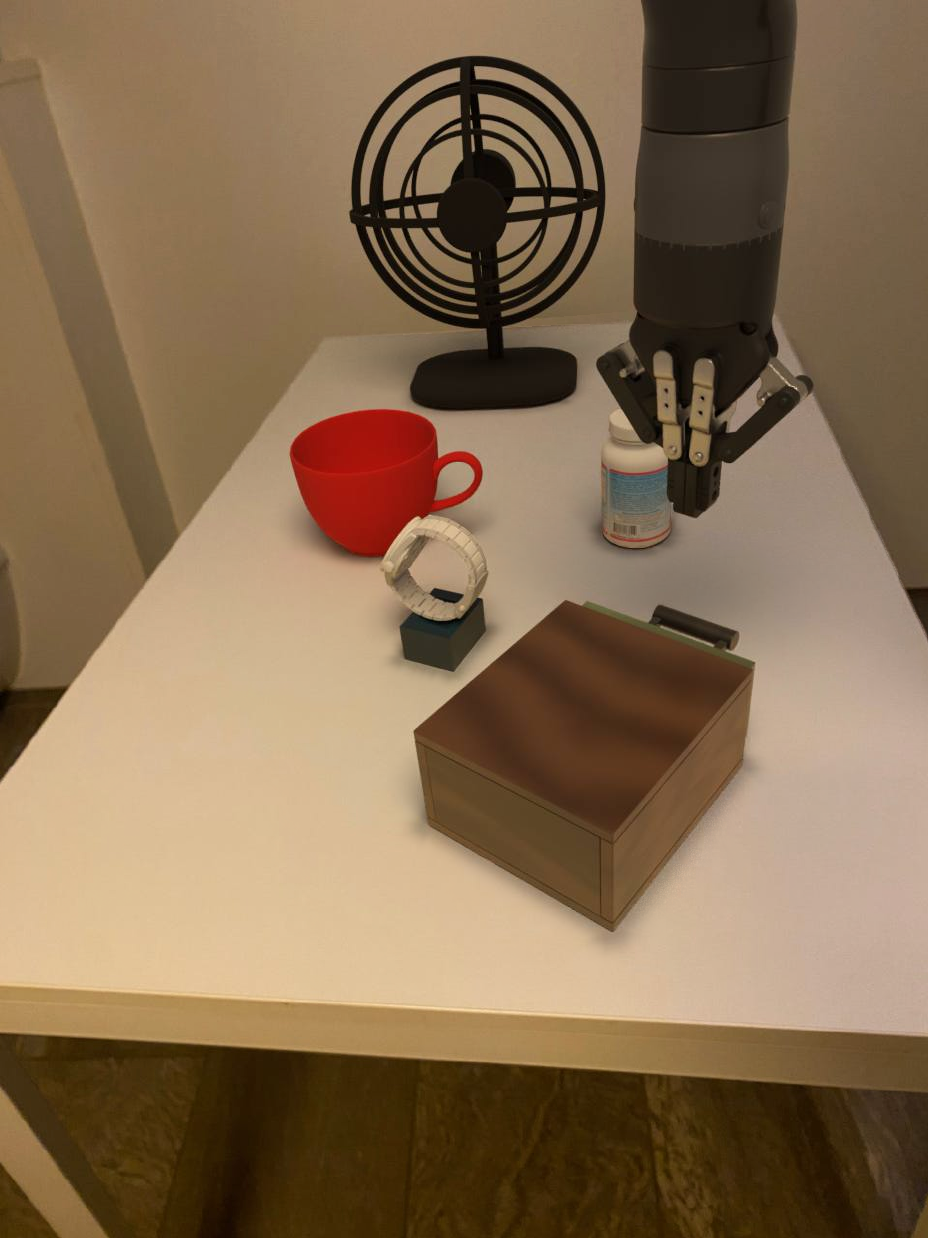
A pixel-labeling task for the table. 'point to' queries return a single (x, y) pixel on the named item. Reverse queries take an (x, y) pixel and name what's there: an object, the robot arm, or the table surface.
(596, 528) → the table surface
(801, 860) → the table surface
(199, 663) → the table surface
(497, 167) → the desk fan
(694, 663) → the cabinet
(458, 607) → the watch
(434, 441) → the ceramic cup
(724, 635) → the drawer
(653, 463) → the pill bottle
